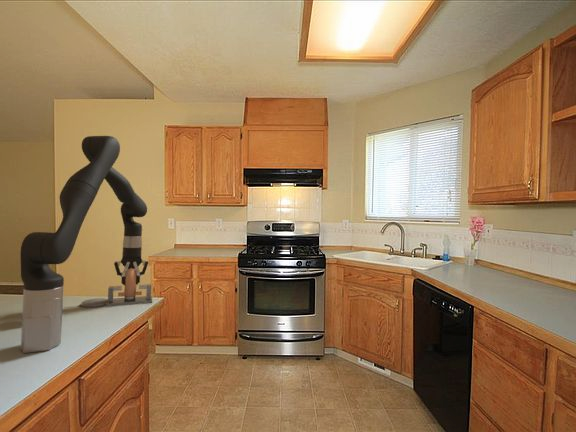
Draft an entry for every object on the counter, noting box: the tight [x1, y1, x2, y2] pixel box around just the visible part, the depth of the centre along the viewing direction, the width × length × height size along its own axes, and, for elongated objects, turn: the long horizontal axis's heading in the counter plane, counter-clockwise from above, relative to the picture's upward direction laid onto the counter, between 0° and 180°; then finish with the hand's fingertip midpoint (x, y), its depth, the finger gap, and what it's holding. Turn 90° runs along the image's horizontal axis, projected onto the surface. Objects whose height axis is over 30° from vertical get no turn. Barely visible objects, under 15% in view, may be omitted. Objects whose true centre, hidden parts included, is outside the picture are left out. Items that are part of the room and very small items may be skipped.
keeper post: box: [105, 283, 153, 307], centre depth 137 cm, size 8×18×7 cm, turn 116°
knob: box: [117, 268, 143, 297], centre depth 137 cm, size 5×9×12 cm, turn 116°
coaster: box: [81, 297, 108, 309], centre depth 132 cm, size 10×10×1 cm
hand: (130, 284), depth 137 cm, fingers closed on knob, 4 cm apart
